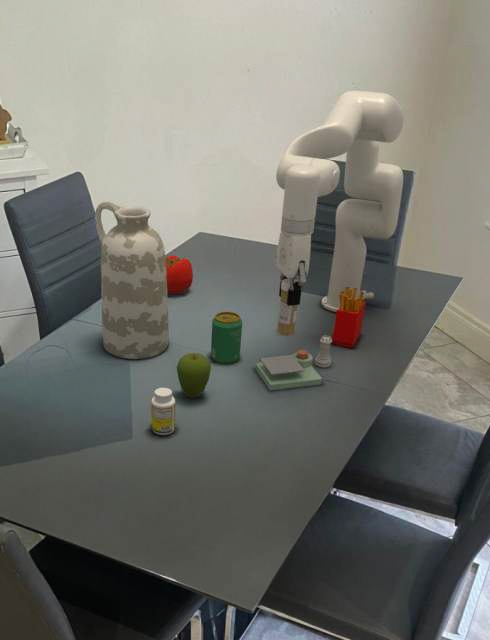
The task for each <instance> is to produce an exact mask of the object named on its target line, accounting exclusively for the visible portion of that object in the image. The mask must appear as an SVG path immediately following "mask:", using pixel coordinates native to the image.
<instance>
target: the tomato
mask: <svg viewBox="0 0 490 640" xmlns="http://www.w3.org/2000/svg"><path fill="white" fill-rule="evenodd" d="M165 259H166V276H167V294H169V295H179V294H180V295H181V294H183V293H184V292H185V291H186V290H189V288H190V287H191V286H192V285H193V279H194V274H193V273H194V272H193V266H192V263H191V261H190V259H188V258H185V257H182V258H181V257H178V256H177V255H172V254H171V255H169V256H168V257H166V256H165Z"/></svg>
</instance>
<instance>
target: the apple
mask: <svg viewBox="0 0 490 640" xmlns="http://www.w3.org/2000/svg"><path fill="white" fill-rule="evenodd" d="M211 365H212V364H211V363H210V360H209V359H208V358H207V357H206V356H205V355H204V354H202V353H199V352H191V353H187V354H184V355H183V356H181V357H180V358H179V360H178V362H177V365H176V372H177V379H178V381H179V385H180V389H181V390H182V392H183V393H184V395H186V397H187V398H189V399H195V398H197V397H199V396H200V395H201V394H202V393H203V392H204V391H205V389H206V387H207V385H208V382H209V380H210V375H211V370H212V366H211Z"/></svg>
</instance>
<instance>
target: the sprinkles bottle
mask: <svg viewBox="0 0 490 640" xmlns="http://www.w3.org/2000/svg"><path fill="white" fill-rule="evenodd" d="M298 280H299V279H294V283H295V282H296V281H298ZM281 281H282V283H281V297H280V300H279V308H278V319H277V329H276V332H277V334H278V335H280V336H283V337H291V336H293V335H294V334H295V332H296V330H295V328H296V321H297V314H298V305H292V306H288V305H287V297H288V289H290V279H288V278H287V279H284V280H281Z"/></svg>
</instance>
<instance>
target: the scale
mask: <svg viewBox="0 0 490 640" xmlns="http://www.w3.org/2000/svg"><path fill="white" fill-rule="evenodd" d="M291 355H293V356H294V358H295V359H296V360H297V361H298V363H299V364H300V365H301V366H302V368H303V369H304V370H305V372H296V373H288V374H279V375H271V374H270V373H269V371H268V370H267V368H266V367H265V366H264V364H263V363H262V362H258V363H257V362H256V363H255V367H254V368H255V371H256V372H257V374H258V375H259V376H260V378H261V379H262V381H263V382H264V384H265V385H266V386H267V388H268V389H269V391H277V390H283V389H293V388H294V389H295V388H303V387H310V386H318V385H319V386H320V385H322V382H323V377H321V375H320V374H319V373H318V372H317V370H316V369H315V368H314V367H313V366H312V364H313V359H314V356H313V355H312V354H311V353H308V355H307V359H304V360H302V359H298V358H297V355H298V351H297V352H296V351H295V352H294V353H292V354H291Z"/></svg>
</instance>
